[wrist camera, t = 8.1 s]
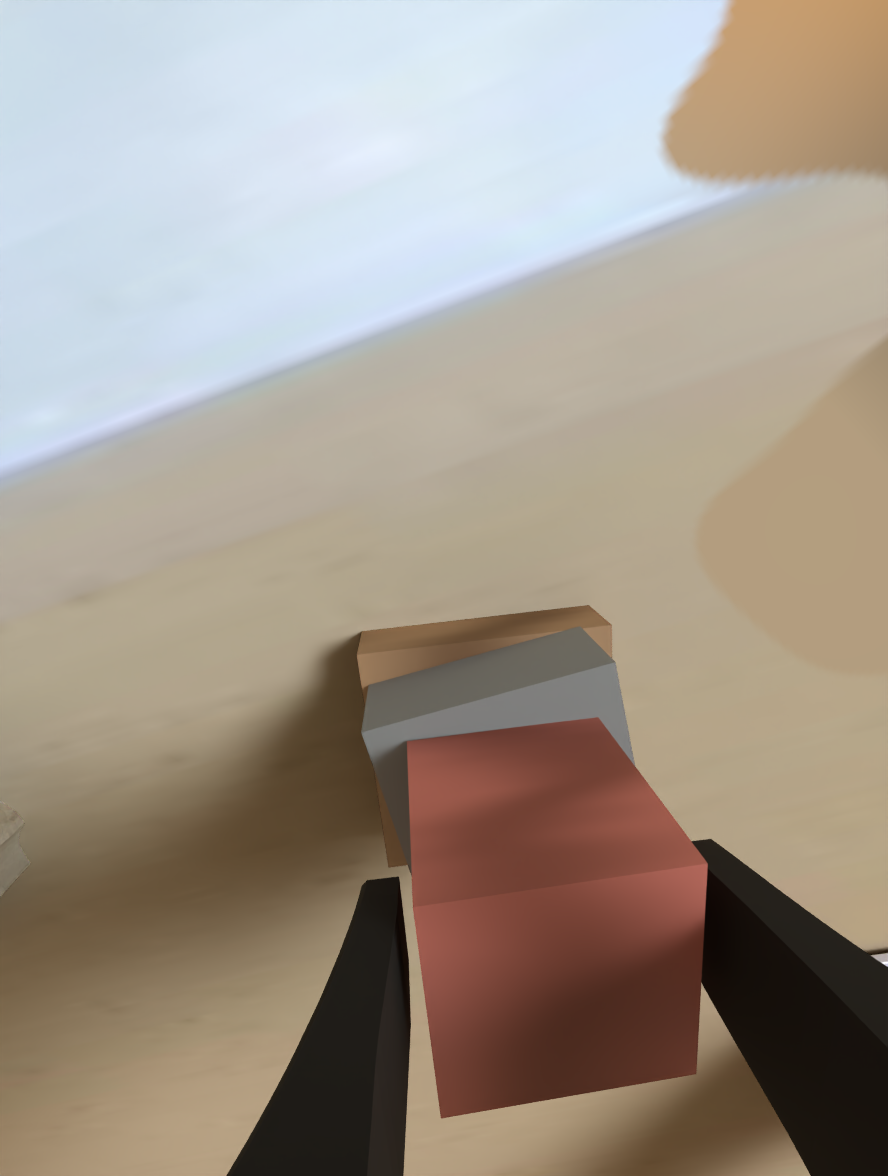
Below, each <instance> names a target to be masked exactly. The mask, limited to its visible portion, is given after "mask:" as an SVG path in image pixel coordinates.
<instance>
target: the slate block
mask: <svg viewBox="0 0 888 1176" xmlns="http://www.w3.org/2000/svg"><path fill="white" fill-rule="evenodd" d="M596 717H599V719H600V720H601V721H602V723H603V724H604V725H605V727H606V728H607V729H608V731H609V732H610V733H611V735H612V736H613V737H614V739H615V740H616V741H617V743H618V744H619V746H620V747H621V748H622V750H623V751H624V752H625V754H626V755H627V756H628V758H629V759H630V760H631V762H632V763H633V764H634V766H635V763H634V758H633V753H632V747H631V742H630V737H629V732H628V726H627V721H626V716H625V711H624V705H623V700H622V695H621V690H620V684H619V679H618V674H617V669H616V663H615V661H614V660H613V659H612V658H611V657H610V656H609V655H608V654H607V653H606V652H605V651H604V650H603V649H602V648H601V647H600V646H599V645H598V644H597V643H596V642H595V641H594V640H593V639H592V638H591V637H590V636H589V635H588V634H587V633H586V632H585V631H584V630H583V629H582V628H581V627H580V626H579V627H575V628H571V629H568V630H564V631H561V632H557V633H554V634H550V635H546V636H543V637H539V638H536V639H532V640H528V641H525V642H521V643H518V644H514V645H510V646H507V647H503V648H500V649H496V650H492V651H489V652H485V653H482V654H478V655H474V656H471V657H467V658H464V659H460V660H456V661H453V662H449V663H446V664H442V665H438V666H435V667H431V668H428V669H424V670H420V671H417V672H413V673H410V674H406V675H403V676H399V677H395V678H392V679H388V680H385V681H381V682H377V683H374V684H370V685H369V686H368V692H367V699H366V705H365V712H364V718H363V725H362V731H361V733H362V736H363V739H364V742H365V745H366V747H367V750H368V753H369V756H370V759H371V762H372V764H373V767H374V770H375V773H376V776H377V779H378V782H379V784H380V787H381V790H382V793H383V796H384V799H385V802H386V804H387V807H388V810H389V813H390V816H391V819H392V821H393V824H394V827H395V830H396V833H397V836H398V839H399V841H400V844H401V847H402V850H403V853H404V856H405V859H406V861H407V864H408V867H409V870H410V873H411V876H412V868H411V841H410V814H409V787H408V761H407V741H413V740H420V739H428V738H436V737H444V736H451V735H459V734H467V733H475V732H483V731H490V730H498V729H506V728H514V727H521V726H529V725H537V724H546V723H554V722H562V721H571V720H579V719H588V718H596Z"/></svg>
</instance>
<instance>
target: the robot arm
mask: <svg viewBox="0 0 888 1176" xmlns="http://www.w3.org/2000/svg"><path fill="white" fill-rule="evenodd" d="M691 842H692V843H693V844H694V846H695V847H696V849H697V850H698V851H699V853H700V854H701V855H702V857H703V858H704V859H705V861H706V862H707V863H708V868H707V886H706V905H705V923H704V941H703V959H702V978H701V982H702V984H703V986H704V988H705V990H706V992H707V993H708V995H709V997H710V999H711V1001H712V1002H713V1004H714V1006H715V1008H716V1009H717V1011H718V1013H719V1015H720V1016H721V1018H722V1020H723V1022H724V1023H725V1025H726V1027H727V1029H728V1030H729V1032H730V1034H731V1036H732V1037H733V1039H734V1041H735V1043H736V1044H737V1046H738V1048H739V1049H740V1051H741V1053H742V1055H743V1056H744V1058H745V1060H746V1062H747V1063H748V1065H749V1067H750V1068H751V1070H752V1072H753V1074H754V1075H755V1077H756V1079H757V1081H758V1082H759V1084H760V1086H761V1088H762V1089H763V1091H764V1093H765V1094H766V1096H767V1098H768V1100H769V1101H770V1103H771V1105H772V1107H773V1108H774V1110H775V1112H776V1113H777V1115H778V1117H779V1119H780V1120H781V1122H782V1124H783V1126H784V1127H785V1129H786V1131H787V1132H788V1134H789V1136H790V1138H791V1140H792V1142H793V1143H794V1145H795V1147H796V1149H797V1151H798V1153H799V1155H800V1156H801V1158H802V1160H803V1162H804V1164H805V1166H806V1168H807V1169H808V1171H809V1173H810V1175H811V1176H888V953H883V954H876V955H869V954H868V953H866V952H865V951H863V950H862V949H860V948H859V947H857V946H856V945H855V944H853V943H852V942H850V941H849V940H847V939H846V938H845V937H843V936H842V935H840V934H839V933H837V932H836V931H835V930H833V929H832V928H830V927H829V926H828V925H826V924H825V923H823V922H822V921H821V920H819V919H818V918H816V917H815V916H814V915H812V914H811V913H810V912H808V911H807V910H805V909H804V908H803V907H801V906H800V905H799V904H797V903H796V902H795V901H793V900H792V899H790V898H789V897H788V896H786V895H785V894H784V893H782V892H781V891H780V890H778V889H777V888H776V887H774V886H773V885H772V884H770V883H769V882H768V881H766V880H765V879H764V878H762V877H761V876H760V875H758V874H757V873H756V872H755V871H753V870H752V869H751V868H749V867H748V866H747V865H745V864H744V863H743V862H741V861H740V860H739V859H737V858H736V857H735V856H733V855H732V854H731V853H729V852H728V851H727V850H725V849H724V848H723V847H721V846H720V845H719V844H717V843H716V842H714V841H713V840H712V839H707V840H699V841H691ZM410 1029H411V1018H410V986H409V959H408V950H407V942H406V933H405V924H404V916H403V907H402V898H401V890H400V881H399V877H392V878H383V879H375V880H367V881H366V882H365V883H364V884H363V885H362V887H361V891H360V895H359V898H358V902H357V905H356V908H355V911H354V914H353V917H352V920H351V923H350V926H349V929H348V932H347V934H346V937H345V940H344V942H343V945H342V948H341V950H340V953H339V955H338V958H337V960H336V962H335V965H334V967H333V970H332V972H331V974H330V977H329V979H328V981H327V984H326V986H325V989H324V991H323V993H322V996H321V998H320V1000H319V1002H318V1005H317V1007H316V1009H315V1011H314V1013H313V1015H312V1017H311V1019H310V1021H309V1024H308V1026H307V1028H306V1030H305V1032H304V1034H303V1036H302V1038H301V1040H300V1042H299V1045H298V1047H297V1049H296V1051H295V1053H294V1055H293V1057H292V1059H291V1061H290V1063H289V1065H288V1067H287V1069H286V1071H285V1073H284V1075H283V1076H282V1078H281V1080H280V1082H279V1084H278V1086H277V1088H276V1090H275V1092H274V1094H273V1095H272V1097H271V1099H270V1101H269V1103H268V1105H267V1106H266V1108H265V1110H264V1112H263V1114H262V1115H261V1117H260V1119H259V1121H258V1123H257V1124H256V1126H255V1128H254V1130H253V1132H252V1133H251V1135H250V1137H249V1139H248V1140H247V1142H246V1144H245V1145H244V1147H243V1149H242V1150H241V1152H240V1154H239V1156H238V1157H237V1159H236V1161H235V1162H234V1164H233V1166H232V1167H231V1169H230V1171H229V1172H228V1174H227V1176H403V1171H404V1151H405V1131H406V1111H407V1091H408V1071H409V1050H410Z"/></svg>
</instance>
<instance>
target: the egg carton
mask: <svg viewBox="0 0 888 1176" xmlns="http://www.w3.org/2000/svg"><path fill="white" fill-rule="evenodd" d="M24 824H25V823H24V821H23V819H22V818H21V816H20V815H19V814H18V813H17V812H16V811H15V810H13V809H12V808H11V807H9V806H8V805H6V804H5V803H4V802H2V801H0V897H1V896H2V895H3V893H4V892H5V891H6V890H7V889H8V888H9V887H10V886H11V885H12V884H13V883H14V881H15V880H16V879H17V878H18V877H19V876H20V875H21V873H22V872H23V871H24V870H25V869H26V868H27V867H28V866H29V865H30V861H29V860H28V858H27V857H26V855H25V854H24V852H23V850H22V849H21V846H20V842H19V837H20V831H21V829H22V827H23V826H24Z"/></svg>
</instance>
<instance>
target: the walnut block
mask: <svg viewBox="0 0 888 1176" xmlns="http://www.w3.org/2000/svg"><path fill="white" fill-rule="evenodd" d="M579 626H580V627H581V628H582V629H583V630H584V631H585V632H586V633H587V634H588V635H589V636H590V637H591V638H592V639H593V640H594V641H595V642H596V643H597V644H598V645H599V646H600V647H601V648H602V649H603V650H604V651H605V652H606V653H607V654H608V655H609V656H610V657H611V658H612V625H611V624H610V623H609V622H608V621H606V620H605V619H604V618H603V617H602V616H601V615H599V614H598V613H597V612H596V611H595V610H594V609H593V608H591V607H590V606H589V605H587V606H578V607H569V608H561V609H552V610H543V611H534V612H526V613H517V614H508V615H500V616H491V617H482V618H474V619H465V620H456V621H448V622H439V623H430V624H422V625H413V626H404V627H396V628H387V629H378V630H370V631H362V633H361V638H360V642H359V647H358V651H357V660H358V666H359V673H360V680H361V686H362V693H363V700H364V706H365V705H366V699H367V692H368V686H369V685H370V684H374V683H377V682H381V681H385V680H388V679H392V678H395V677H399V676H403V675H406V674H410V673H413V672H417V671H420V670H424V669H428V668H431V667H435V666H438V665H442V664H446V663H449V662H453V661H456V660H460V659H464V658H467V657H471V656H474V655H478V654H482V653H485V652H489V651H492V650H496V649H500V648H503V647H507V646H510V645H514V644H518V643H521V642H525V641H528V640H532V639H536V638H539V637H543V636H546V635H550V634H554V633H557V632H561V631H564V630H568V629H571V628H575V627H579ZM374 773H375V770H374ZM375 780H376V786H377V793H378V800H379V806H380V813H381V820H382V826H383V833H384V840H385V846H386V853H387V860H388V866H389V867H395V866H402V865H408V864H407V861H406V859H405V856H404V853H403V850H402V847H401V844H400V841H399V839H398V836H397V833H396V830H395V827H394V824H393V821H392V819H391V816H390V813H389V810H388V807H387V804H386V802H385V799H384V796H383V793H382V790H381V787H380V784H379V782H378V779H377V776H376V773H375Z"/></svg>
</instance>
